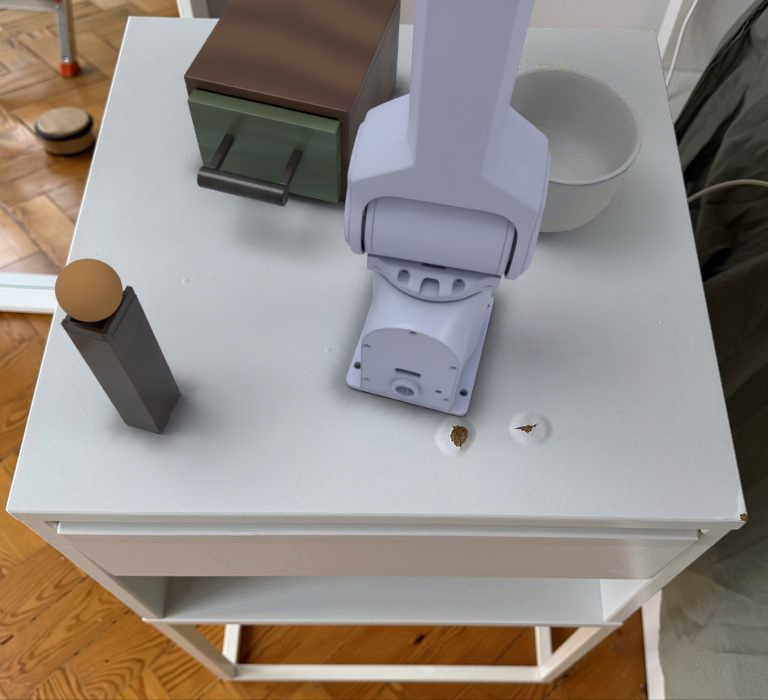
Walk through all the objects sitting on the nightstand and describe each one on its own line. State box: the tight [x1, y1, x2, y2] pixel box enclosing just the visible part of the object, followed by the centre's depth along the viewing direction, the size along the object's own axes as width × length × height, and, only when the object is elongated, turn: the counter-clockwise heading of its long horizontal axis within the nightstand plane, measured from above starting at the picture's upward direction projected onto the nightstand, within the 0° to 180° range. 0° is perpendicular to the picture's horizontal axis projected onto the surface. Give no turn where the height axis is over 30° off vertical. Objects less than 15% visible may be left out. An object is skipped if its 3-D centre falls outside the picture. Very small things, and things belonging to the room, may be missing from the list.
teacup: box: [509, 64, 644, 233], centre depth 52 cm, size 14×11×8 cm
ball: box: [54, 258, 124, 322], centre depth 35 cm, size 3×3×3 cm
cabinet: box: [183, 0, 402, 202], centre depth 55 cm, size 14×12×9 cm
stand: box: [60, 285, 182, 435], centre depth 41 cm, size 3×2×12 cm
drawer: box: [186, 89, 342, 207], centre depth 53 cm, size 17×10×7 cm, turn 165°
